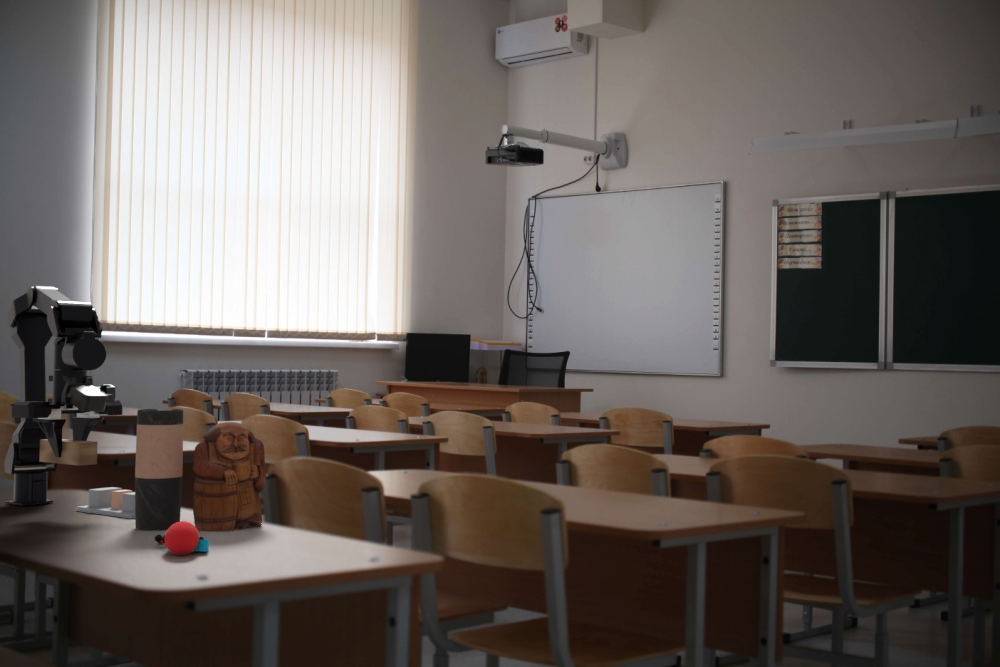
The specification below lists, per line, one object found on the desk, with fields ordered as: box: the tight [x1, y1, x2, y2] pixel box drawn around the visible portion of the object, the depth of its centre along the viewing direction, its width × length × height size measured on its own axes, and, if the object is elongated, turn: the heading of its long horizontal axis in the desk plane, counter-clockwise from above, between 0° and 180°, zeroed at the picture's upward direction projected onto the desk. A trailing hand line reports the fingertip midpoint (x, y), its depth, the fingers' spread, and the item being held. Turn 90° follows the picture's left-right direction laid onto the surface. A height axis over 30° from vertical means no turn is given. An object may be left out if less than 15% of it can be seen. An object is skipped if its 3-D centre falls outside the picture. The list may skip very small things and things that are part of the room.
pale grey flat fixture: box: [75, 486, 135, 519], centre depth 186 cm, size 16×9×4 cm, turn 57°
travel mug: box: [134, 408, 184, 532], centre depth 168 cm, size 8×8×20 cm
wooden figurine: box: [192, 421, 266, 532], centre depth 169 cm, size 12×6×18 cm, turn 135°
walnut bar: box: [39, 438, 98, 467], centre depth 178 cm, size 12×4×4 cm, turn 57°
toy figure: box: [154, 520, 210, 556], centre depth 148 cm, size 8×5×15 cm
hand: (68, 456), depth 178 cm, fingers closed on walnut bar, 3 cm apart
